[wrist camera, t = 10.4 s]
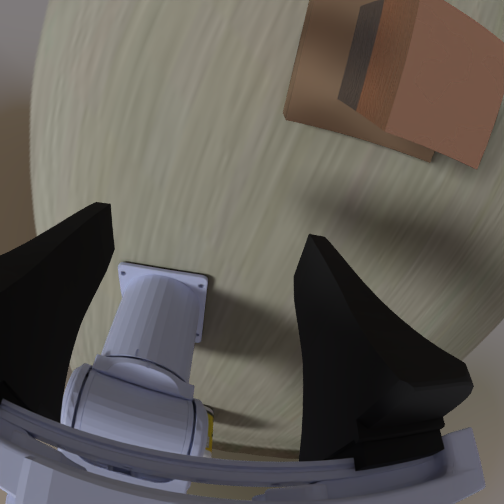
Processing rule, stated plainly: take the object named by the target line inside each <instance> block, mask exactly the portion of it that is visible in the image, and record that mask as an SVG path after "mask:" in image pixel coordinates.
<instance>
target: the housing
mask: <svg viewBox="0 0 504 504" xmlns="http://www.w3.org/2000/svg"><path fill="white" fill-rule="evenodd" d="M503 95H504V42H502V41H501V40H500V39H499V38H497V37H496V36H495V35H494V34H492V33H491V32H490V31H488V30H487V29H486V28H484V27H483V26H482V25H480V24H479V23H478V22H476V21H475V20H473V19H472V18H470V17H469V16H467V15H466V14H464V13H463V12H461V11H460V10H458V9H457V8H455V7H454V6H452V5H450V4H449V3H447V2H445V1H444V0H377V1H374V2H371V3H368V4H365V5H362V6H360V10H359V14H358V19H357V23H356V27H355V31H354V36H353V40H352V44H351V48H350V52H349V56H348V60H347V64H346V68H345V71H344V75H343V79H342V83H341V87H340V90H339V94H338V98H337V99H338V100H340V101H341V102H343V103H344V104H346V105H348V106H349V107H351V108H352V109H353V110H355V111H356V112H358V113H359V114H361V115H362V116H364V117H365V118H366V119H368V120H369V121H371V122H372V123H373V124H375V125H376V126H378V127H379V128H380V129H382V130H383V131H384V132H387V133H390V134H393V135H395V136H398V137H401V138H404V139H407V140H409V141H412V142H414V143H417V144H420V145H422V146H425V147H427V148H430V149H432V150H435V151H437V152H439V153H442V154H444V155H446V156H449V157H451V158H453V159H455V160H458V161H460V162H462V163H464V164H466V165H468V166H470V167H473V168H475V169H477V168H478V166H479V164H480V161H481V159H482V156H483V154H484V151H485V149H486V146H487V143H488V141H489V138H490V135H491V132H492V129H493V127H494V124H495V121H496V118H497V114H498V111H499V108H500V105H501V102H502V98H503Z"/></svg>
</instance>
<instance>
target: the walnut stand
mask: <svg viewBox="0 0 504 504" xmlns="http://www.w3.org/2000/svg"><path fill="white" fill-rule="evenodd" d="M374 1H377V0H309V4H308V8H307V12H306V16H305V21H304V25H303V29H302V34H301V38H300V42H299V46H298V51H297V55H296V59H295V63H294V68H293V72H292V76H291V80H290V85H289V89H288V93H287V98H286V102H285V106H284V110H283V114H284V117H285V119H286V120H289V121H293V122H298V123H302V124H306V125H311V126H315V127H319V128H323V129H327V130H331V131H334V132H338V133H342V134H345V135H349V136H352V137H356V138H359V139H363V140H366V141H369V142H372V143H376V144H379V145H382V146H385V147H388V148H391V149H394V150H397V151H400V152H402V153H405V154H408V155H411V156H414V157H416V158H419V159H422V160H424V161H427V162H429V163H430V162H431V159H432V157H433V154H434V152H435V150H432V149H430V148H427V147H425V146H422V145H420V144H417V143H414V142H412V141H409V140H407V139H404V138H401V137H398V136H395V135H393V134H390V133H387V132H384V131H383V130H382V129H380V128H379V127H378V126H376V125H375V124H373V123H372V122H371V121H369V120H368V119H366V118H365V117H364V116H362V115H361V114H359V113H358V112H356V111H355V110H353V109H352V108H351V107H349V106H348V105H346V104H344V103H343V102H341V101H340V100H338V99H337V98H338V94H339V90H340V87H341V83H342V79H343V75H344V71H345V68H346V64H347V60H348V56H349V52H350V48H351V44H352V40H353V36H354V31H355V27H356V23H357V19H358V14H359V10H360V6H362V5H365V4H368V3H371V2H374Z"/></svg>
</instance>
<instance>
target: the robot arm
mask: <svg viewBox="0 0 504 504" xmlns="http://www.w3.org/2000/svg"><path fill="white" fill-rule="evenodd" d="M114 249H115V247H114V238H113V228H112V216H111V204H107V203H100V202H95V203H93V204H91V205H89V206H87V207H85V208H84V209H82V210H80V211H78V212H77V213H75V214H73V215H72V216H70V217H68V218H67V219H65V220H64V221H62V222H60V223H59V224H57V225H55V226H54V227H52V228H50V229H49V230H47V231H45V232H44V233H42V234H40V235H39V236H37V237H35V238H34V239H32V240H30V241H28V242H27V243H25V244H23V245H21V246H19V247H17V248H15V249H13V250H11V251H9V252H7V253H5V254H3V255H0V489H2V490H3V491H5V492H6V493H7V498H6V503H5V504H455V503H457V502H459V501H461V500H463V499H465V498H467V497H469V496H471V495H473V494H475V493H477V492H479V491H480V490H482V489H484V488H485V481H484V476H483V471H482V466H481V462H480V458H479V453H478V450H477V446H476V442H475V438H474V434H473V431H472V428H471V427H468V428H465V429H462V430H459V431H455V432H451V433H448V434H446V435H444V436H441V433H440V429H442V428H443V427H444V425H445V423H444V420H443V416H445V415H446V414H447V413H449V412H450V411H451V410H453V409H454V408H455V407H457V406H458V405H459V404H461V403H462V402H463V401H464V400H465V399H466V398H467V397H468V396H469V395H470V394H471V391H472V389H473V387H474V386H473V383H472V380H471V377H470V374H469V372H468V369H467V366H466V364H465V363H464V362H462V361H461V360H459V359H457V358H456V357H454V356H452V355H451V354H449V353H447V352H445V351H444V350H442V349H441V348H439V347H437V346H436V345H435V344H433V343H432V342H430V341H429V340H427V339H426V338H424V337H423V336H422V335H420V334H419V333H418V332H416V331H415V330H414V329H413V328H411V327H410V326H409V325H408V324H407V323H405V322H404V321H403V320H402V319H400V318H399V317H398V316H397V315H396V314H395V313H394V312H393V311H392V310H390V309H389V308H388V307H387V306H386V305H385V304H384V303H383V302H382V301H381V300H380V299H379V298H378V297H377V296H376V295H375V294H374V293H373V292H372V291H371V290H370V289H369V287H368V286H367V285H366V284H365V283H364V282H363V281H362V280H361V279H360V277H359V276H358V275H357V274H356V273H355V272H354V270H353V269H352V268H351V267H350V266H349V265H348V263H347V262H346V261H345V260H344V258H343V257H342V256H341V255H340V254H339V252H338V251H337V250H336V249H335V248H334V246H333V245H332V244H331V243H330V242H329V241H328V240H327V239H326V237H323V236H317V235H312V234H309V235H308V238H307V241H306V244H305V247H304V249H303V252H302V255H301V258H300V261H299V263H298V266H297V269H296V272H295V274H294V302H295V309H296V316H297V323H298V329H299V336H300V342H301V349H302V359H303V417H302V434H301V445H300V455H299V462H261V461H239V460H226V459H215V458H206V457H203V455H204V451H205V448H206V443H207V437H208V415H207V411H206V409H205V408H204V406H203V404H202V402H201V401H200V400H199V399H195V398H193V394H194V385H191V384H189V378H190V371H191V364H192V357H193V351H194V344H195V343H199V342H201V339H202V329H203V320H204V311H205V302H206V294H207V285H208V278H207V277H206V276H204V275H199V274H192V273H186V272H180V271H173V270H167V269H161V268H155V267H149V266H143V265H137V264H131V263H125V262H121V263H120V264H119V265H118V273H119V280H120V287H121V293H122V300H121V302H120V305H119V307H118V310H117V313H116V315H115V318H114V320H113V323H112V326H111V328H110V331H109V334H108V336H107V339H106V342H105V345H104V347H103V350H102V353H101V355H99V354H97V355H96V358H95V361H94V364H93V367H92V365H89V364H87V363H84V364H82V366H80V367H77V368H76V369H75V370H74V371H73V373H72V375H71V377H70V379H69V381H68V384H67V387H66V389H65V393H64V388H65V382H66V376H67V372H68V367H69V363H70V359H71V355H72V351H73V347H74V344H75V341H76V337H77V334H78V331H79V328H80V325H81V323H82V320H83V318H84V316H85V313H86V311H87V309H88V307H89V305H90V303H91V301H92V299H93V297H94V295H95V293H96V291H97V289H98V287H99V285H100V283H101V281H102V279H103V277H104V275H105V273H106V271H107V268H108V266H109V263H110V261H111V258H112V255H113V252H114ZM123 271H124V272H125V273H124V272H123ZM200 284H202V285H200ZM63 394H64V396H63ZM35 438H36V439H38V440H40V441H43V442H45V443H48V444H50V445H52V446H55V447H57V448H58V449H57V450H56V449H54V448H52V447H50V446H48V445H46V444H43V443H42V442H40V441H38V440H36V439H35ZM191 482H198V483H206V484H218V485H230V486H251V487H285V488H275V489H267V490H266V491H265V494H263V495H257V496H254V497H253V498H252V501H249V500H233V499H223V498H213V497H204V496H197V495H190V494H186V492H187V489H189V487H190V485H191ZM289 486H294V487H289Z"/></svg>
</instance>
